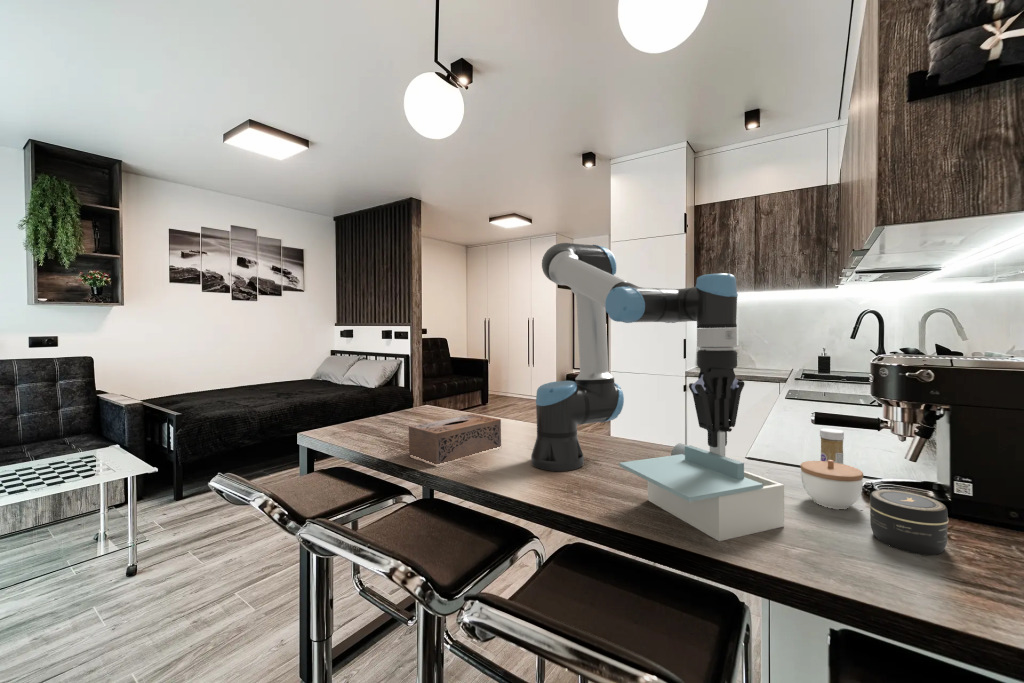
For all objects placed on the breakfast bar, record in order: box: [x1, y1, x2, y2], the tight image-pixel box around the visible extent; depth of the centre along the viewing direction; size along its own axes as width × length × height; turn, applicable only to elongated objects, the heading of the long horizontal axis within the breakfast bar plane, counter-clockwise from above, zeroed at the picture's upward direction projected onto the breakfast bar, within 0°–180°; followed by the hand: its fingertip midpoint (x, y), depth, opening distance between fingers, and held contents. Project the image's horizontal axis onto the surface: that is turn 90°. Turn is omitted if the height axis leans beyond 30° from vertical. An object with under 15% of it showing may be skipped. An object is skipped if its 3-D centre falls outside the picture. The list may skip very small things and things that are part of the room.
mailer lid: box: [618, 445, 763, 502], centre depth 84 cm, size 21×17×4 cm
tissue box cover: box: [408, 413, 502, 464], centre depth 134 cm, size 26×14×10 cm, turn 136°
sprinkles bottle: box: [819, 427, 845, 464], centre depth 100 cm, size 5×5×13 cm
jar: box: [869, 489, 949, 556], centre depth 73 cm, size 10×10×8 cm
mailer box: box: [647, 470, 785, 542], centre depth 87 cm, size 20×16×8 cm
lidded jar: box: [800, 460, 864, 510], centre depth 90 cm, size 11×11×9 cm
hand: (717, 461), depth 87 cm, fingers closed
